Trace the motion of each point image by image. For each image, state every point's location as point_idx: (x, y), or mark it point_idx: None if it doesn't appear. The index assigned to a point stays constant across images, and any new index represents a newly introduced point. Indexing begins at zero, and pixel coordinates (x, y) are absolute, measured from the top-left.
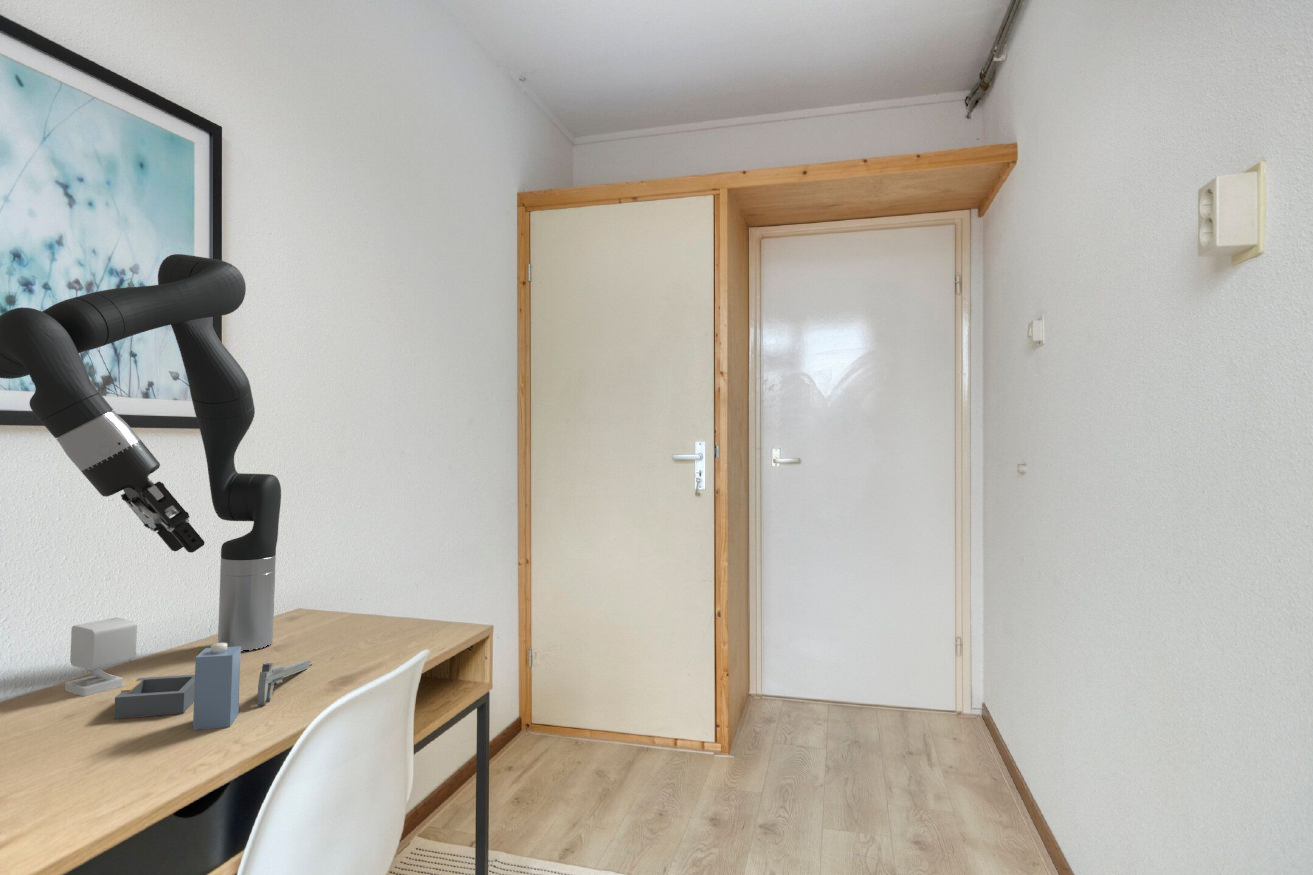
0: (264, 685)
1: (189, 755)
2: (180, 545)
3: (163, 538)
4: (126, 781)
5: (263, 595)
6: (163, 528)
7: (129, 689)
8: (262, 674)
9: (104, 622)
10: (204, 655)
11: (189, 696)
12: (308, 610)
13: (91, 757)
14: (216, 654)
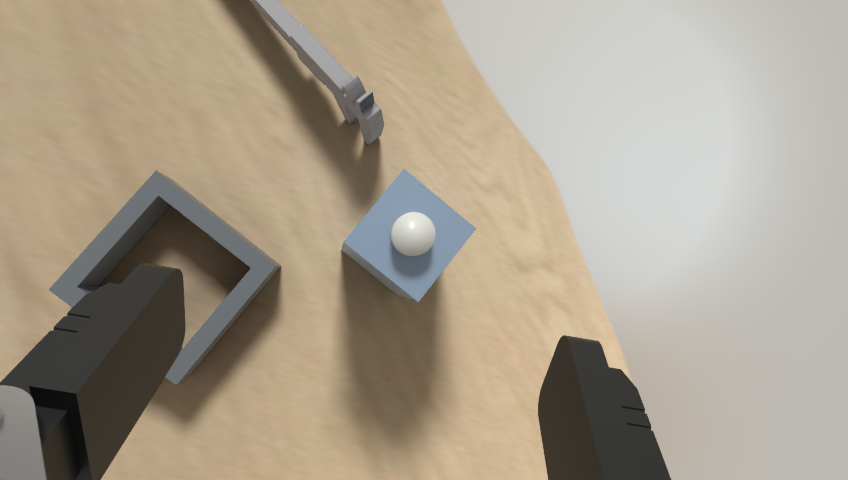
0: (382, 124)
1: (517, 351)
2: (176, 313)
3: (128, 430)
4: (542, 463)
5: None
6: (79, 452)
7: None
8: (372, 117)
9: None
10: (418, 278)
11: (245, 239)
12: None
13: (384, 473)
14: (433, 252)
